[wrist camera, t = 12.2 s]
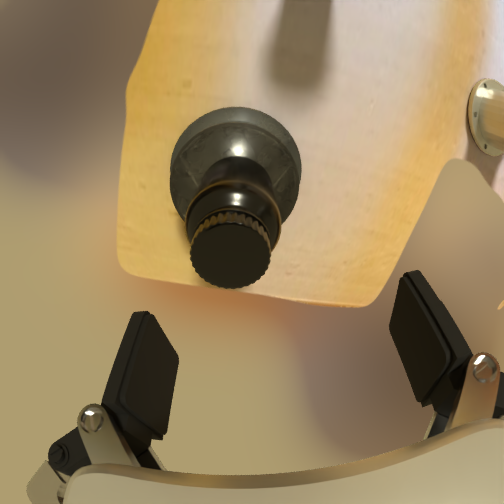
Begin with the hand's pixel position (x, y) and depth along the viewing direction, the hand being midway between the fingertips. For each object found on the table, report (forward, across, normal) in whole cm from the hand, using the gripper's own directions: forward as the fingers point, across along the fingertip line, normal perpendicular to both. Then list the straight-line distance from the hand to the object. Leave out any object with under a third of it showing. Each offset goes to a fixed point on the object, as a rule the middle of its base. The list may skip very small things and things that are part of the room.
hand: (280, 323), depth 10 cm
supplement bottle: (+18, +3, +1) cm, 19 cm away
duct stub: (+24, +3, +1) cm, 25 cm away
